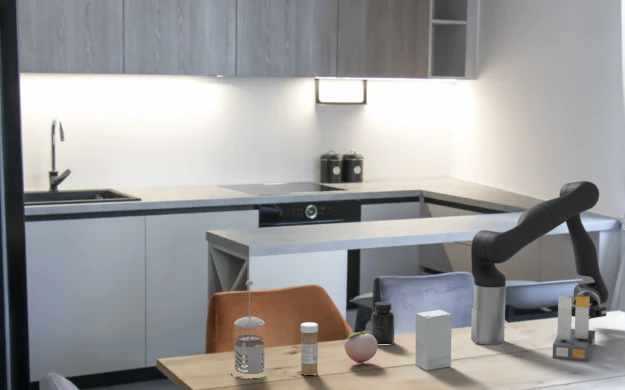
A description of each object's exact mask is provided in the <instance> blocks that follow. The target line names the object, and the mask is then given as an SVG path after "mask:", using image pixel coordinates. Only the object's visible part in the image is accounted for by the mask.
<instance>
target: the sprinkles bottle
mask: <svg viewBox="0 0 625 390" xmlns="http://www.w3.org/2000/svg"><path fill="white" fill-rule="evenodd" d="M318 332H319V325H318V323H316V322H312V321H311V322H302V323H301V324H300V333H301V335H300V336H301V343H300V345H301V346H300V362H301V366H300V369H301V370H300V373H302V374H305V375H314V374H316V375H318V374H317V373H319V371H318V363H319V362H318V361H319V360H318V357H319V350H318V349H319V348H318V347H319V344H318ZM302 374H301V375H302ZM305 375H304V376H305ZM314 376H315V375H314Z"/></svg>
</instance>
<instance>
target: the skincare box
mask: <svg viewBox="0 0 625 390" xmlns="http://www.w3.org/2000/svg"><path fill="white" fill-rule="evenodd" d="M452 315H453V314H452V313H449V312H447V311H444V310H442V309H437V310H436V309H435V310H428V311H422V312H415V366H417V367H418V368H421V369H422V370H425V371H430V370H431V371H432V370H436V369H437V370H438V369H442V368H443V369H444V368H447V367H451V366H452Z"/></svg>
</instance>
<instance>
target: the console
mask: <svg viewBox="0 0 625 390" xmlns="http://www.w3.org/2000/svg"><path fill="white" fill-rule="evenodd" d="M595 345H596V330H592V329H591V330H588V339H582V338H575V328H571V340H565V339H557V336H556V337H555V339H554V341H553V343H552V359H559V360H560V359H561V360H570V361H579V362H588V363H589V362H591V359H592V355H593V353H594V352H593V351H594V348H595Z"/></svg>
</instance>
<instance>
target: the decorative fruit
mask: <svg viewBox="0 0 625 390" xmlns="http://www.w3.org/2000/svg"><path fill="white" fill-rule="evenodd" d="M371 334H372V335H371ZM373 335H374V334H373V333H372V332H371V331H370V330H363V329H362V328H360V331H359V332H352V333H350V334H349V335H348V337H347V338H346V340H345V342H344V351H345V353H346V355H347V356H348V357H349V359H351V360H352V361H353V362H355V363H356V364H358V363H362V364H363V363H365V362H368V361H370V360H372V358H373V357H374V356H375V355H376V353H377V351H378V348H379V347H378V346H379V345H378V344H377V340H376V339H375V337H374V336H373Z"/></svg>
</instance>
